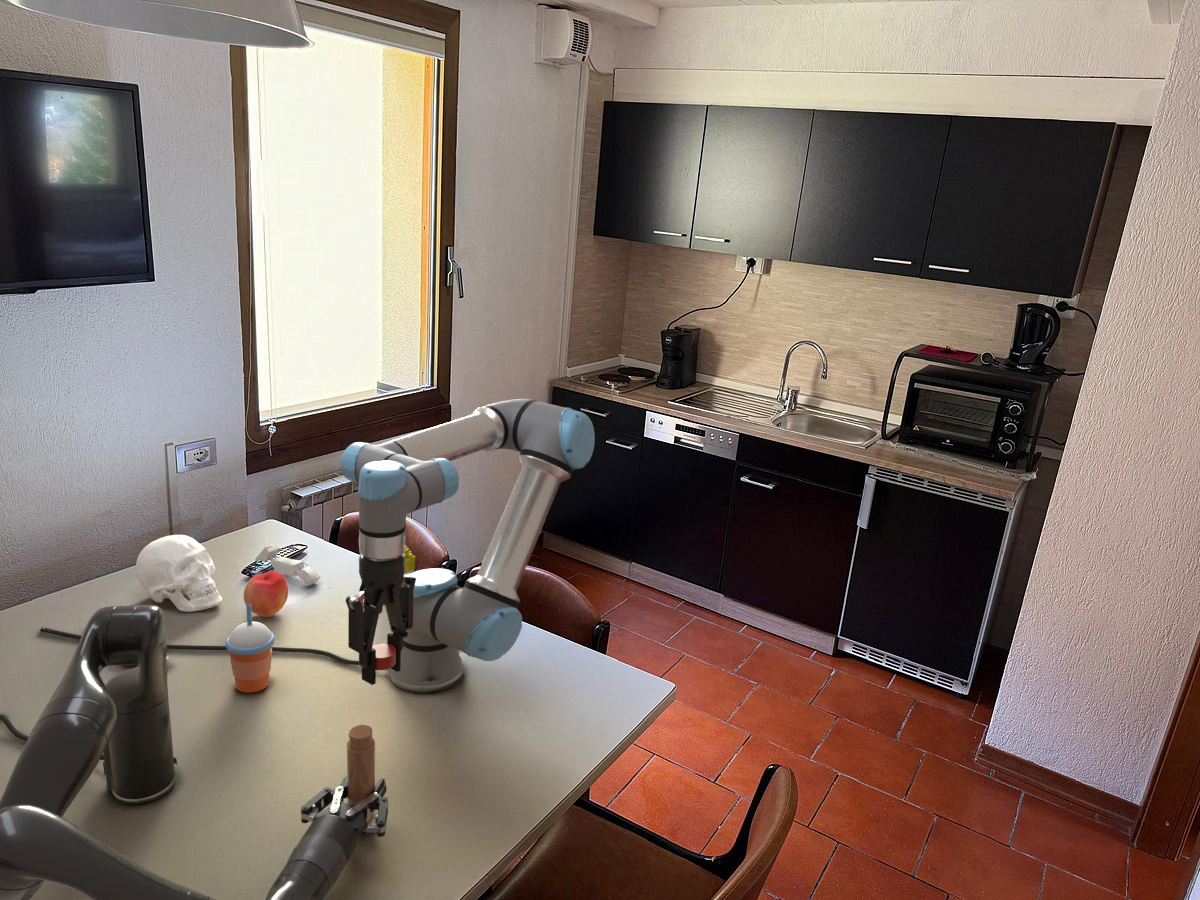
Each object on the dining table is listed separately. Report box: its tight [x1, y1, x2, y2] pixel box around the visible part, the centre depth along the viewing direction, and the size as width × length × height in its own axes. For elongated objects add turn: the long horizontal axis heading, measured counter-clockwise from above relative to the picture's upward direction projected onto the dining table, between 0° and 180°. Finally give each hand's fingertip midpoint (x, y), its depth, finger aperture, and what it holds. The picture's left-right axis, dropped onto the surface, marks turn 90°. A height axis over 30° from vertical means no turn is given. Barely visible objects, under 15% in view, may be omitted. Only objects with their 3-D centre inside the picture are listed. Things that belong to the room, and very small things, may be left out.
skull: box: [135, 534, 223, 613], centre depth 202 cm, size 13×22×16 cm, turn 73°
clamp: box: [254, 544, 322, 587], centre depth 219 cm, size 20×4×7 cm, turn 62°
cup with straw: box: [225, 604, 276, 694], centre depth 171 cm, size 9×9×18 cm
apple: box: [243, 570, 289, 618], centre depth 199 cm, size 10×10×10 cm
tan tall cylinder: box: [346, 724, 376, 824], centre depth 136 cm, size 4×4×18 cm
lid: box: [372, 642, 396, 671], centre depth 149 cm, size 5×5×2 cm
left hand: (368, 780), depth 140 cm, fingers closed on tan tall cylinder, 4 cm apart
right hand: (381, 674), depth 150 cm, fingers closed on lid, 5 cm apart
